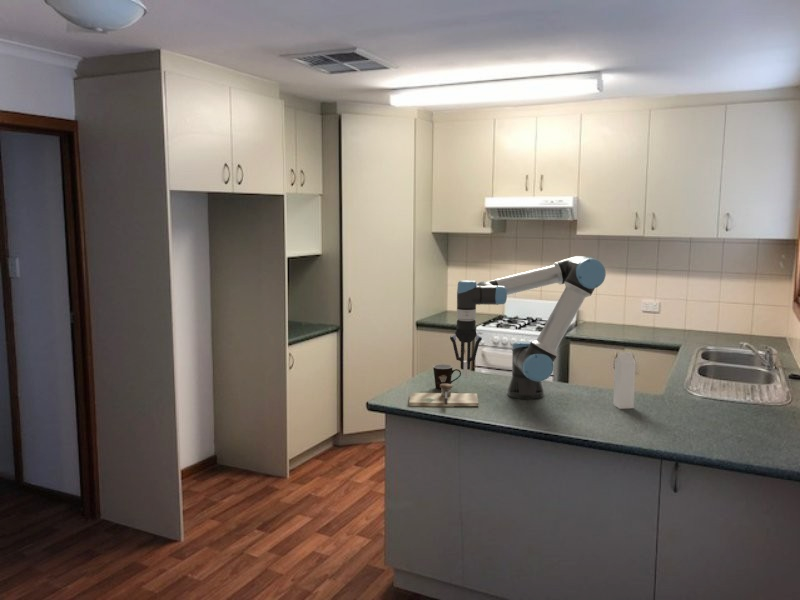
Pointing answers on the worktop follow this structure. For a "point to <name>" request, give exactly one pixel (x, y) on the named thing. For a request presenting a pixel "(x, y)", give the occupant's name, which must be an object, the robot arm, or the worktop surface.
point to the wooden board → (443, 399)
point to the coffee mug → (443, 374)
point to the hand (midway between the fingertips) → (465, 377)
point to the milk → (624, 381)
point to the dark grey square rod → (446, 391)
